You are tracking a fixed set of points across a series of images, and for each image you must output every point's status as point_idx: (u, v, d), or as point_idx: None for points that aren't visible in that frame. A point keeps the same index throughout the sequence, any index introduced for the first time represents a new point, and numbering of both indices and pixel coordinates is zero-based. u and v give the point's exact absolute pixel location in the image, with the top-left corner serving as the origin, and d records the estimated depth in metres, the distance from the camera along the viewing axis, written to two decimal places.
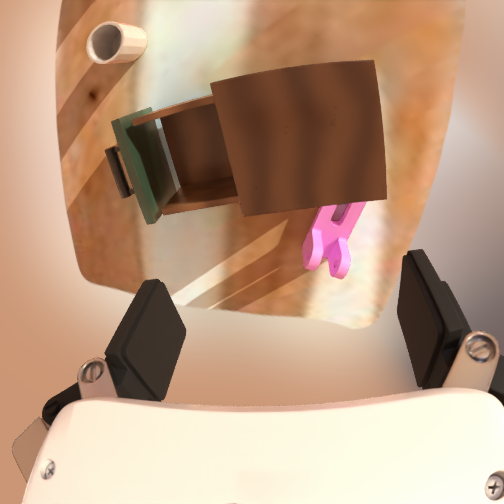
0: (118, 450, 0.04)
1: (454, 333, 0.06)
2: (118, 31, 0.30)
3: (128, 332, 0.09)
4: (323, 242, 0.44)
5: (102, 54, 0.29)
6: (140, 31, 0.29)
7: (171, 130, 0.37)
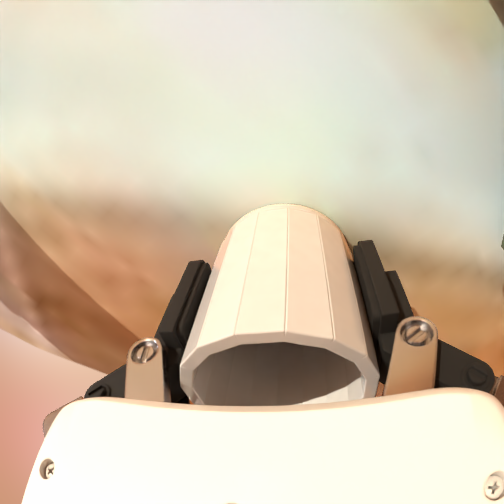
0: (118, 450, 0.04)
1: (389, 317, 0.07)
2: None
3: (181, 310, 0.10)
4: None
5: (308, 365, 0.11)
6: (251, 226, 0.11)
7: None
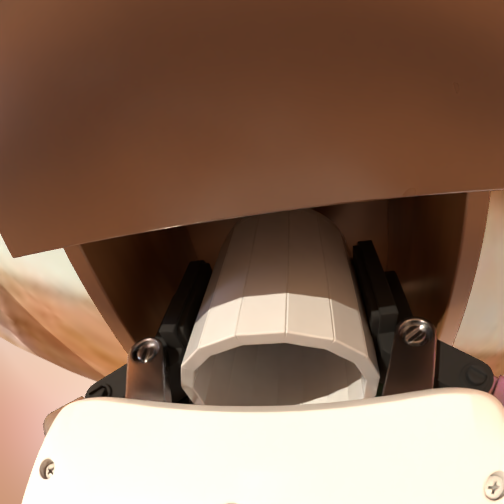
0: (118, 450, 0.04)
1: (388, 317, 0.07)
2: None
3: (182, 310, 0.10)
4: None
5: (308, 365, 0.11)
6: (251, 226, 0.11)
7: None
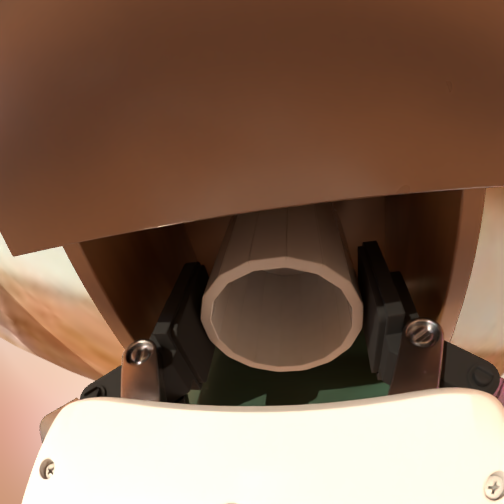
0: (118, 450, 0.04)
1: (395, 318, 0.07)
2: None
3: (176, 311, 0.09)
4: None
5: (306, 315, 0.13)
6: None
7: None
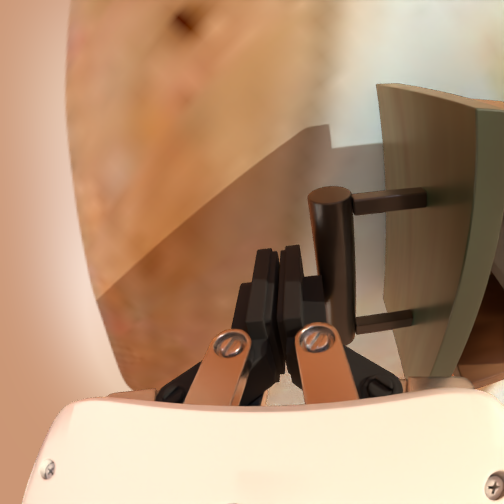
0: (118, 450, 0.04)
1: (290, 322, 0.08)
2: None
3: (265, 298, 0.09)
4: None
5: None
6: None
7: None
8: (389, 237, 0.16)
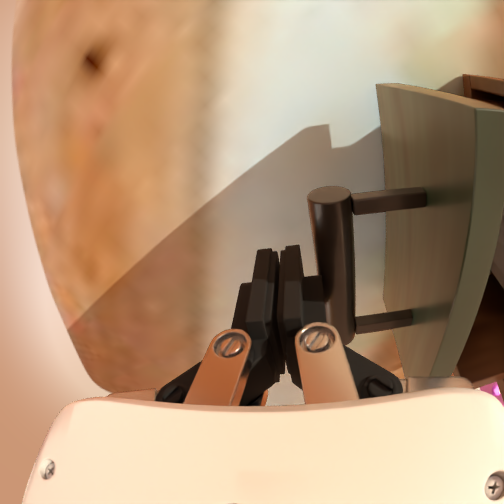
0: (118, 450, 0.04)
1: (290, 322, 0.08)
2: None
3: (265, 298, 0.09)
4: None
5: None
6: None
7: None
8: (389, 237, 0.16)
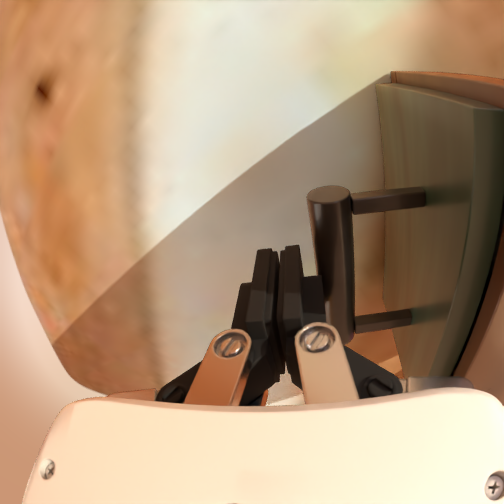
0: (118, 450, 0.04)
1: (290, 322, 0.08)
2: None
3: (265, 298, 0.09)
4: None
5: None
6: None
7: None
8: (388, 236, 0.16)
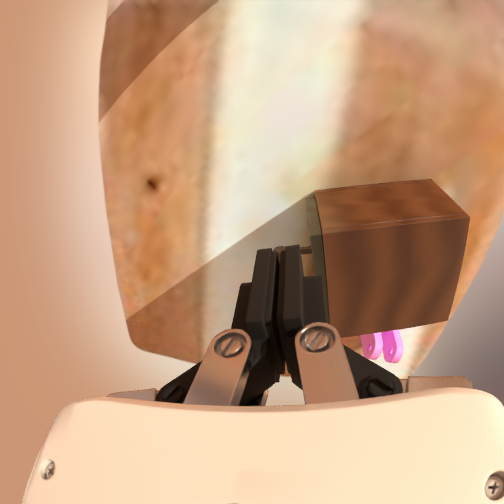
0: (118, 450, 0.04)
1: (290, 321, 0.08)
2: None
3: (265, 298, 0.09)
4: None
5: None
6: None
7: None
8: None
